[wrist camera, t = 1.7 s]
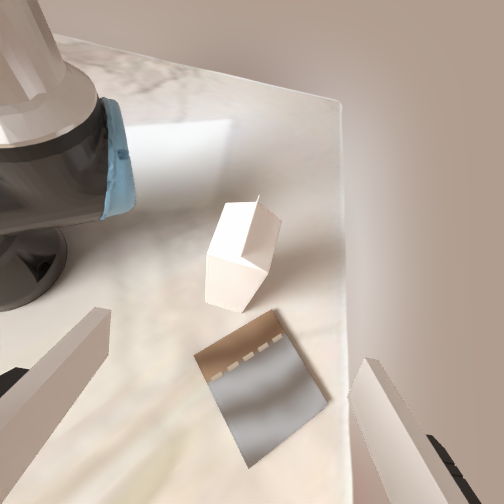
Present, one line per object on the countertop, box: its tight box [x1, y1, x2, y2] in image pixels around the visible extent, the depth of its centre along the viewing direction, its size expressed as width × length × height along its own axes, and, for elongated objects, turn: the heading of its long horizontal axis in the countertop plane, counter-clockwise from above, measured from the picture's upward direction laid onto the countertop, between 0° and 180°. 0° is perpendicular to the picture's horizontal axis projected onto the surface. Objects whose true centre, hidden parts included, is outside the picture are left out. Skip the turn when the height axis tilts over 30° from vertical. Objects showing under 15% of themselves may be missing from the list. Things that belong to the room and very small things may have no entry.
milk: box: [205, 194, 282, 313], centre depth 33 cm, size 6×6×22 cm
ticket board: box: [194, 310, 328, 469], centre depth 37 cm, size 15×13×1 cm
